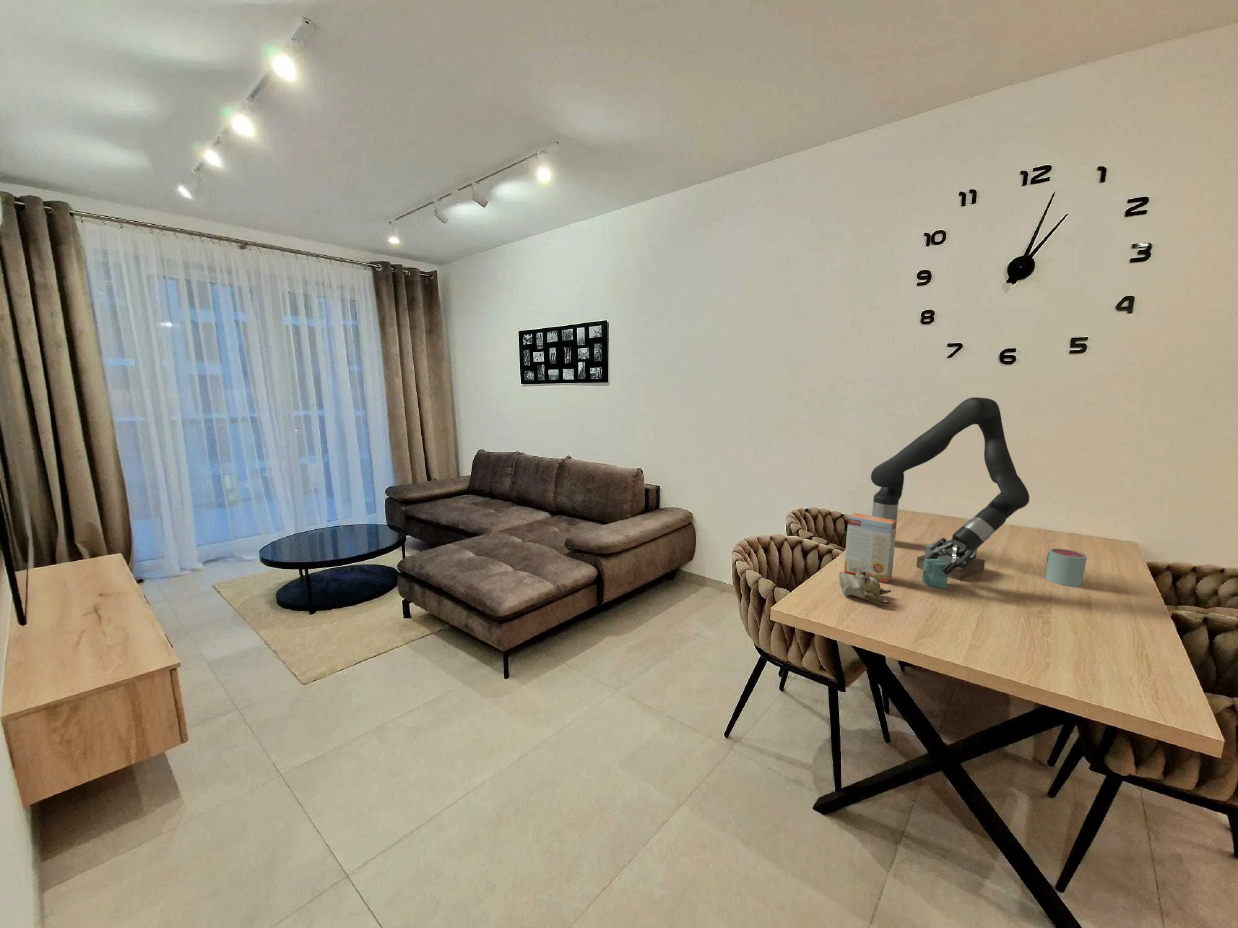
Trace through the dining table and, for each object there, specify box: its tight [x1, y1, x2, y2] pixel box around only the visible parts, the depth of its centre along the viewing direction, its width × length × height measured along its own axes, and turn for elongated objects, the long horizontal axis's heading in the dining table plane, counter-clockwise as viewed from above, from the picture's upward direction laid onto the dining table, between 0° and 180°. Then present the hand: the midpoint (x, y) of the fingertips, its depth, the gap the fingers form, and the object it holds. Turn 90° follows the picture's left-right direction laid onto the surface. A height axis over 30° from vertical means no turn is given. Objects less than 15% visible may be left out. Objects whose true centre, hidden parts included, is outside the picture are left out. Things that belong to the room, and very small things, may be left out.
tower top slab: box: [924, 539, 978, 563], centre depth 175 cm, size 11×14×4 cm
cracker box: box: [843, 512, 898, 584], centre depth 167 cm, size 14×6×21 cm, turn 45°
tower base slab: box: [916, 554, 986, 581], centre depth 175 cm, size 14×18×4 cm
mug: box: [1045, 548, 1088, 588], centre depth 166 cm, size 14×9×10 cm
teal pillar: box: [921, 559, 949, 589], centre depth 161 cm, size 5×5×8 cm
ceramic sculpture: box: [838, 571, 892, 605], centre depth 150 cm, size 11×9×15 cm
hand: (935, 567), depth 160 cm, fingers open, 8 cm apart
